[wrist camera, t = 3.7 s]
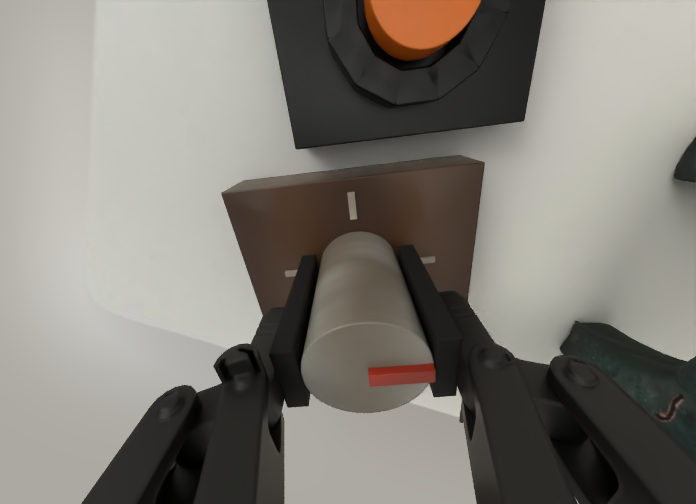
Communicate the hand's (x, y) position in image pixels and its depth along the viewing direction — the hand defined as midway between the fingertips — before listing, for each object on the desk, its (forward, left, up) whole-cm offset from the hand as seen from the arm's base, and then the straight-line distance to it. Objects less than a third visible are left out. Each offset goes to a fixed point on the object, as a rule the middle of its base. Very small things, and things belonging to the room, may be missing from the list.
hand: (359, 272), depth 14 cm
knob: (0, 0, -1) cm, 1 cm away
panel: (0, 0, -4) cm, 4 cm away
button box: (+3, +11, -4) cm, 12 cm away
